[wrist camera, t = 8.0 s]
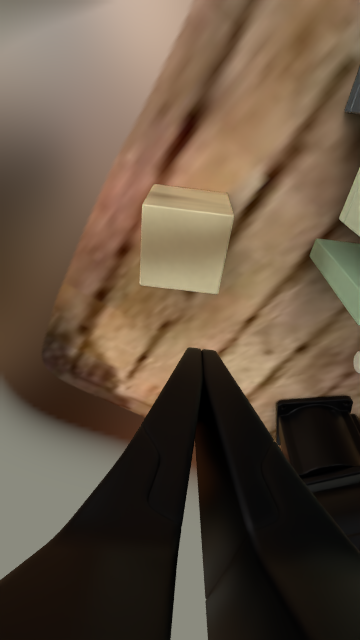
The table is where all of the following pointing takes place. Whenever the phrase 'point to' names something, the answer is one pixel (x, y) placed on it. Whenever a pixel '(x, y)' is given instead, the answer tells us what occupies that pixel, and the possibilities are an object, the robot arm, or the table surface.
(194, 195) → the block
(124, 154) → the table surface
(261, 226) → the table surface
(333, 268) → the drawer
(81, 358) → the table surface
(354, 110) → the cabinet
